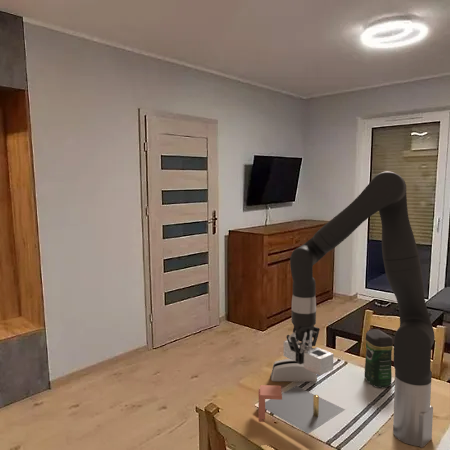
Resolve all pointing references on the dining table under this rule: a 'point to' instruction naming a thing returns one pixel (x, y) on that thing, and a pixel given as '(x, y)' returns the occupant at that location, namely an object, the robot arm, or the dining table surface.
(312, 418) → the board
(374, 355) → the coffee jar
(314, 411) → the knob
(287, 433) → the dining table surface
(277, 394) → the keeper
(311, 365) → the grey long bar
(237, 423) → the dining table surface
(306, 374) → the grey arched slotted block
